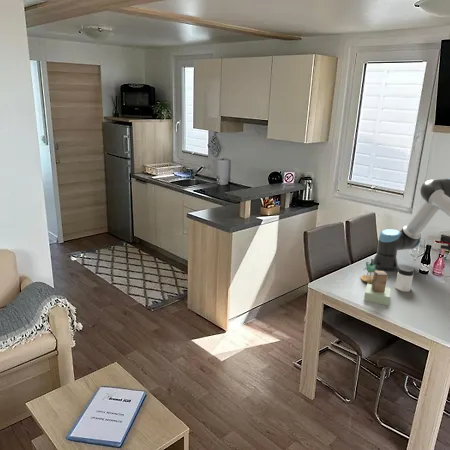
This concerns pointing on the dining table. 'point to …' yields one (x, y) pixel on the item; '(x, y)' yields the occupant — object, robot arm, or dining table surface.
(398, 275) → the jar
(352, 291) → the dining table surface
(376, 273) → the walnut block
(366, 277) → the green insect figurine
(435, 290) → the dining table surface
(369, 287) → the sage block
